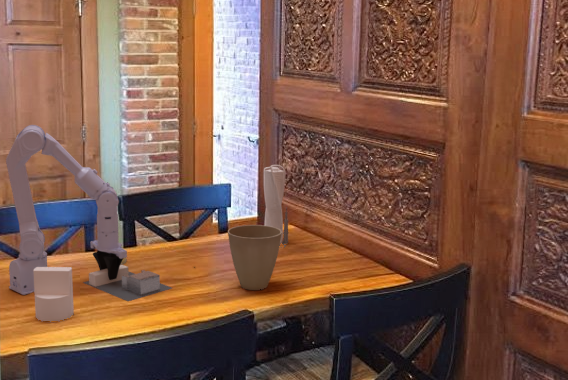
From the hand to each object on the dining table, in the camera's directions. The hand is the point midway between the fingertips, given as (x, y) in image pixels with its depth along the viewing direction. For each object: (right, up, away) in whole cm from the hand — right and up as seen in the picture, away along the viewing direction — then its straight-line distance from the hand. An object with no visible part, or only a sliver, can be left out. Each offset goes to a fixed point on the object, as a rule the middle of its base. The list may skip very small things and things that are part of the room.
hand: (109, 277), depth 211 cm
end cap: (+11, -3, -7) cm, 13 cm away
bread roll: (-3, +2, +18) cm, 18 cm away
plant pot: (+41, -3, 0) cm, 41 cm away
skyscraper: (+46, +6, +42) cm, 62 cm away
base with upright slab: (-8, -7, -25) cm, 27 cm away
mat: (+6, -2, -3) cm, 7 cm away
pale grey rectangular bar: (0, -1, 0) cm, 1 cm away
